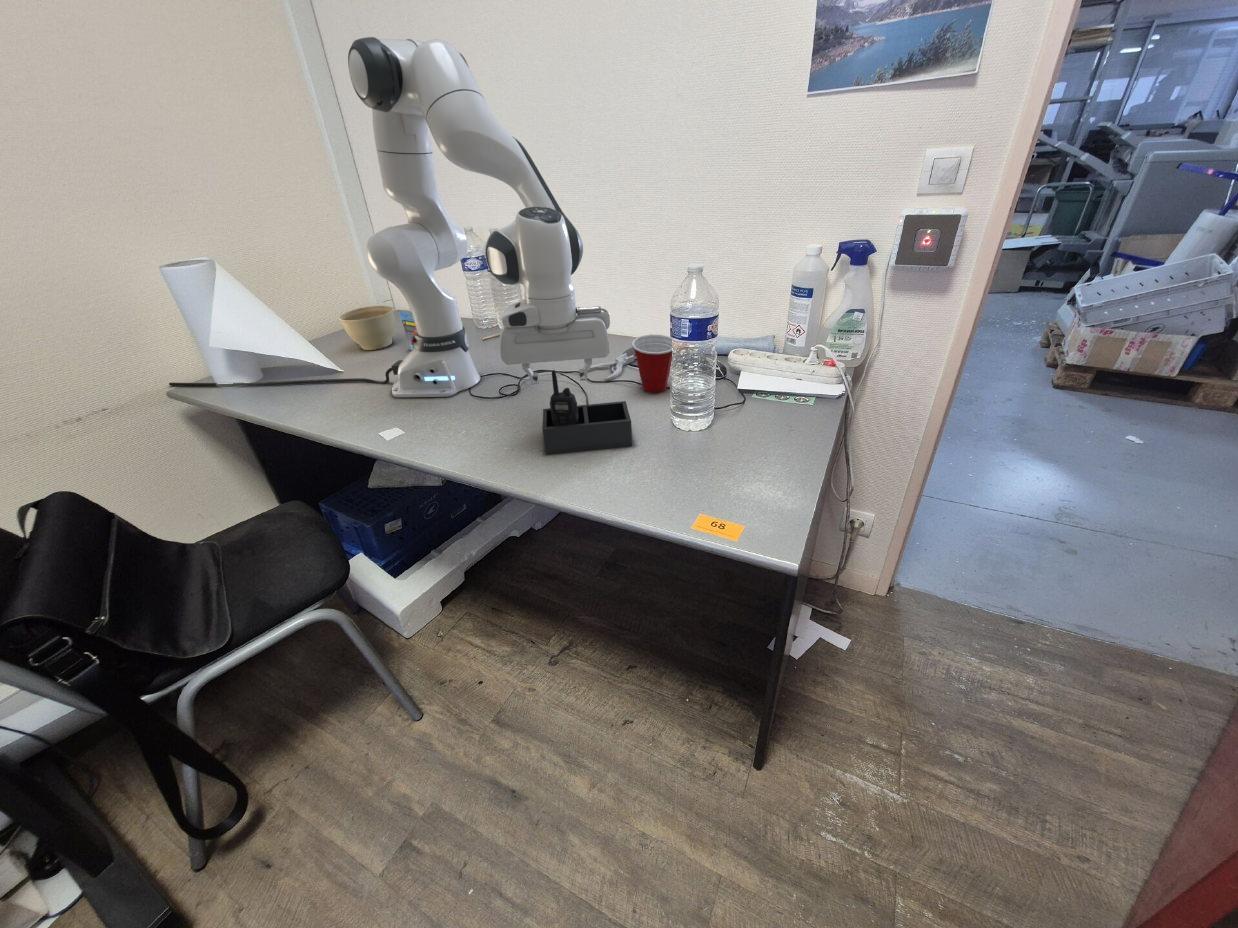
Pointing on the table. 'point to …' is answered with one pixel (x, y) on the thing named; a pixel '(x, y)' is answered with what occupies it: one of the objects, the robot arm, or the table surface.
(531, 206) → the robot arm
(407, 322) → the tape cartridge
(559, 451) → the box
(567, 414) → the two-way radio
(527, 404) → the table surface
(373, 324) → the planter bowl
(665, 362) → the plastic cup
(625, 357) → the pliers
